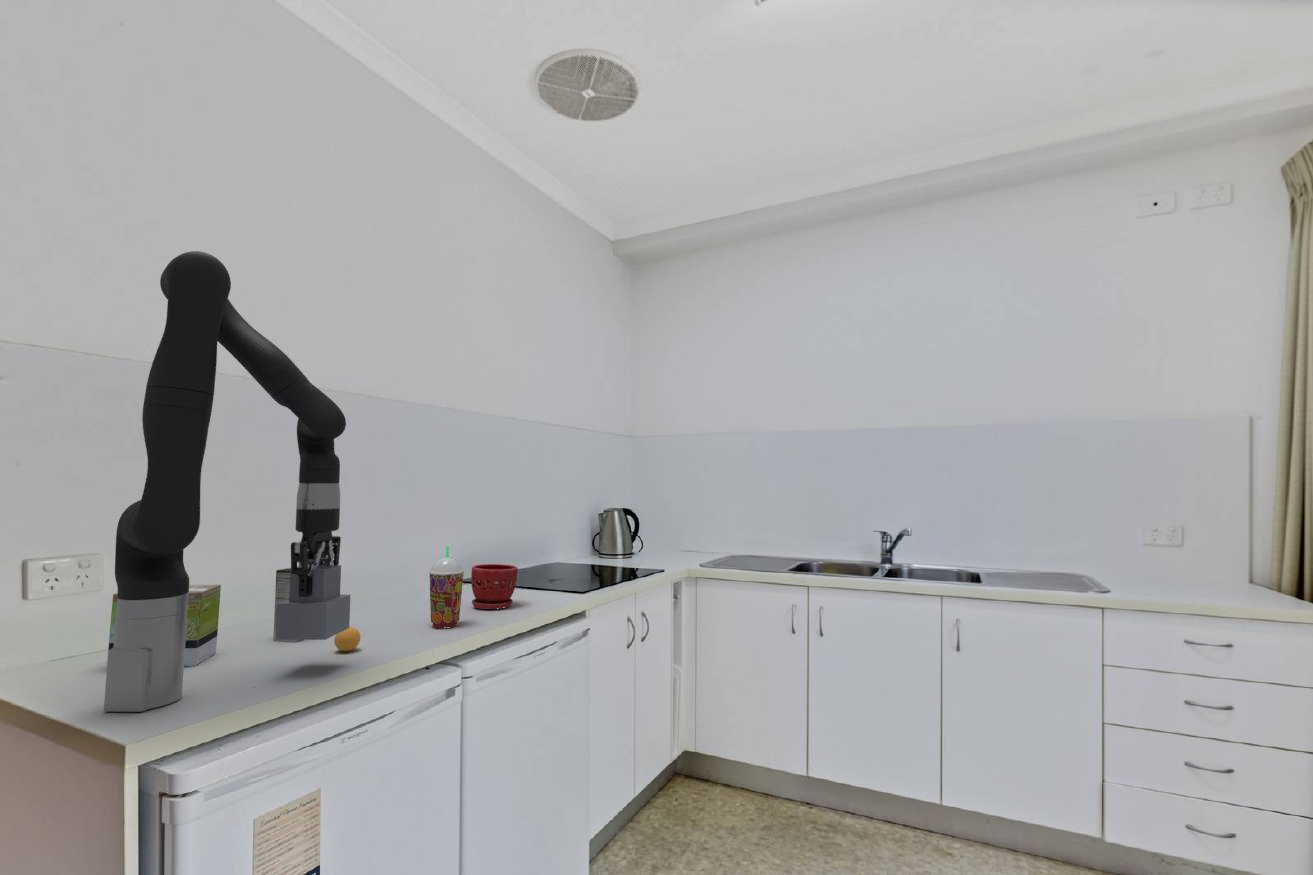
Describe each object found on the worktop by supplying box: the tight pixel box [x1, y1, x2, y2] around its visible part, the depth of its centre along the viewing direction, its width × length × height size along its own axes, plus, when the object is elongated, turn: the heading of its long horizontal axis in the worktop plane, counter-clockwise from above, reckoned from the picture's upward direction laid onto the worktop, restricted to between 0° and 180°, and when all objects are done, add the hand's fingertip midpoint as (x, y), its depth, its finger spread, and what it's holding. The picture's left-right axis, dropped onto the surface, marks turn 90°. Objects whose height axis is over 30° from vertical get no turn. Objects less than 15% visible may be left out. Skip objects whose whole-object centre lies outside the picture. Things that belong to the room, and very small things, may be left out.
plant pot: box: [470, 563, 518, 610], centre depth 183 cm, size 13×13×12 cm
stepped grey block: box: [276, 564, 351, 641], centre depth 120 cm, size 9×9×13 cm
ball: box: [334, 626, 361, 652], centre depth 134 cm, size 5×5×5 cm
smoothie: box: [428, 545, 465, 629], centre depth 158 cm, size 8×8×20 cm
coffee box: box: [272, 566, 302, 643], centre depth 146 cm, size 9×6×16 cm
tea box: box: [107, 584, 222, 668], centre depth 125 cm, size 15×10×15 cm, turn 105°
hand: (315, 592), depth 121 cm, fingers closed on stepped grey block, 6 cm apart
